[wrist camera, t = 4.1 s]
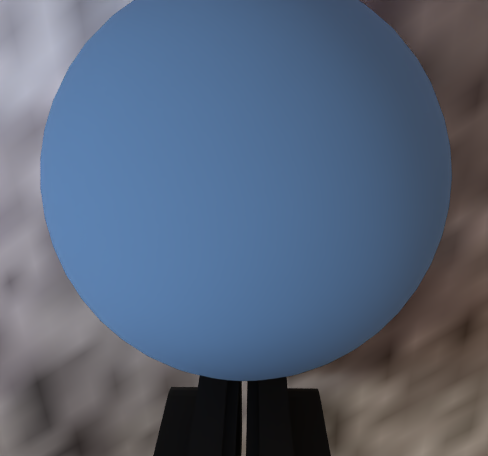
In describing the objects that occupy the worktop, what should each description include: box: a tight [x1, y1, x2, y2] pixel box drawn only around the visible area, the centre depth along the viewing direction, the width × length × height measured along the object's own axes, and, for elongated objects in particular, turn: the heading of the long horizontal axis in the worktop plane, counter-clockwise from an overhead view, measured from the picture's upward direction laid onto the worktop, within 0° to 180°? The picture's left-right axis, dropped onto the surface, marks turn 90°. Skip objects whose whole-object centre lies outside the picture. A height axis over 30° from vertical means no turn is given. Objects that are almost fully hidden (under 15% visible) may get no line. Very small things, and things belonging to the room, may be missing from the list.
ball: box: [41, 0, 452, 381], centre depth 7 cm, size 6×6×6 cm
